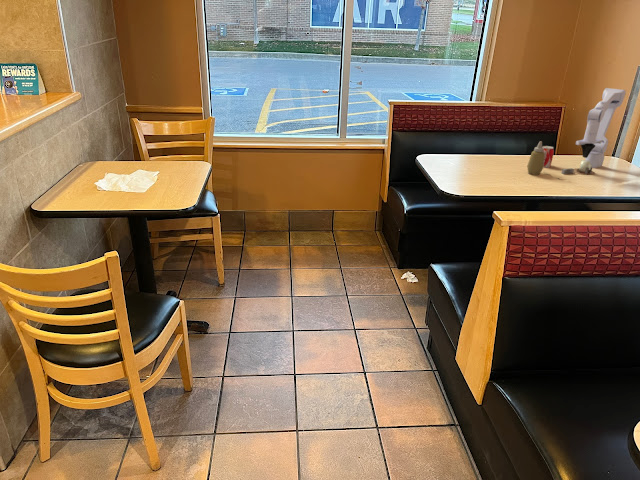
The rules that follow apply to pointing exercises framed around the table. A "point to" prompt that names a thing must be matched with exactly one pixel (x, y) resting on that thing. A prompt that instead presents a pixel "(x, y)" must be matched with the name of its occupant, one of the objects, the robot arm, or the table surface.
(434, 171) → the table surface
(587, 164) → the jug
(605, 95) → the robot arm
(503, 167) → the table surface
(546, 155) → the soda can
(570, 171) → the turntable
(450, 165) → the table surface
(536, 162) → the squeeze bottle
